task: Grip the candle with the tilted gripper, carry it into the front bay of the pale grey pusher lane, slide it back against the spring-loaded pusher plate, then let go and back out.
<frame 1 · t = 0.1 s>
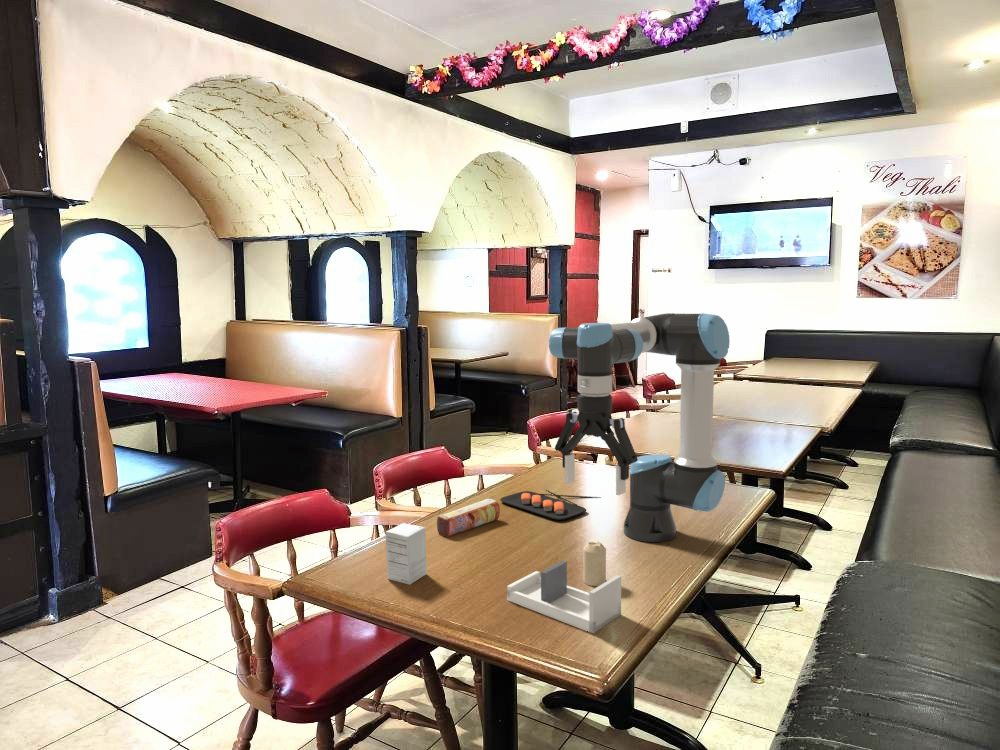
hand: (594, 487, 152), 28 cm above the table, tool pointing down, fingers open, 13 cm apart
pusher lane: (562, 607, 155), on the table
snack package: (469, 528, 208), on the table
pusher plate: (554, 582, 156), point 5 cm above the table, slide at 0.0 cm
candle: (594, 582, 169), on the table
supplement box: (407, 577, 173), on the table
sushi plate: (558, 504, 230), on the table
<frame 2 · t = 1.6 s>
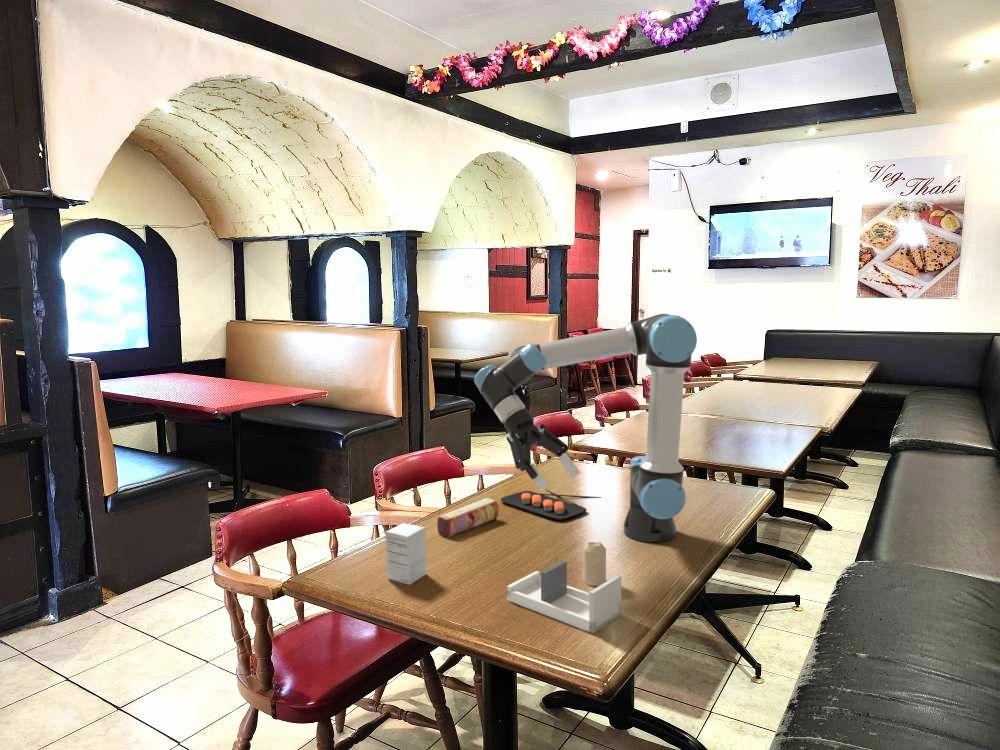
hand: (561, 481, 172), 24 cm above the table, tool tilted 45°, fingers open, 13 cm apart
nothing on the table moved.
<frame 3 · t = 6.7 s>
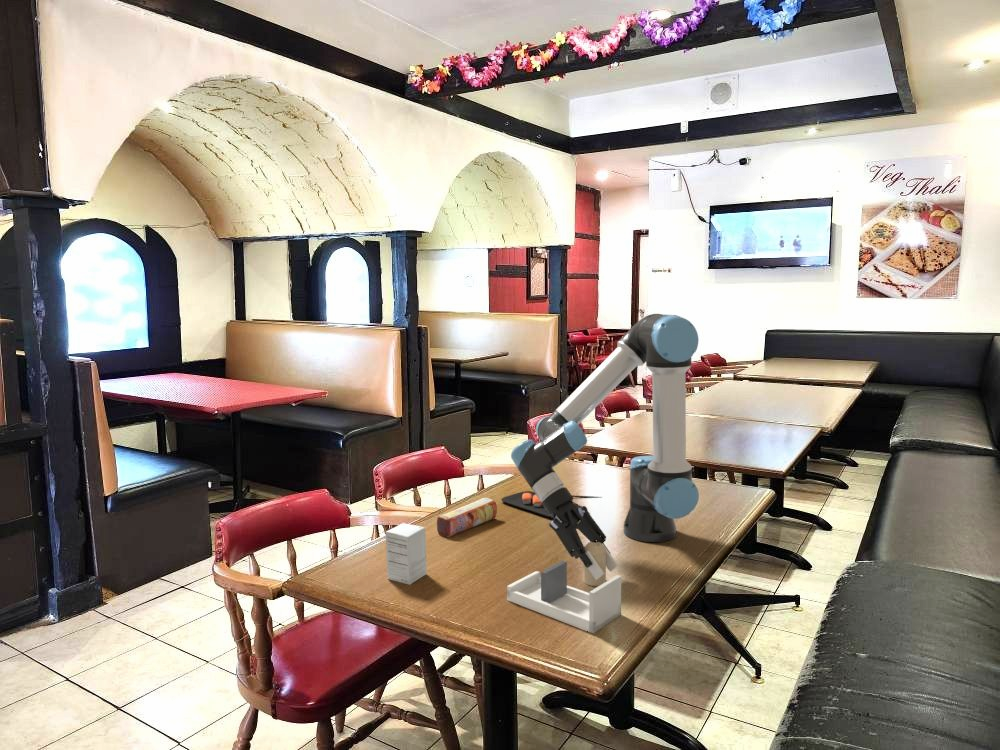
hand: (607, 572, 166), 3 cm above the table, tool tilted 45°, fingers closed on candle, 5 cm apart
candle: (594, 582, 169), on the table, touching gripper
everything else where it was.
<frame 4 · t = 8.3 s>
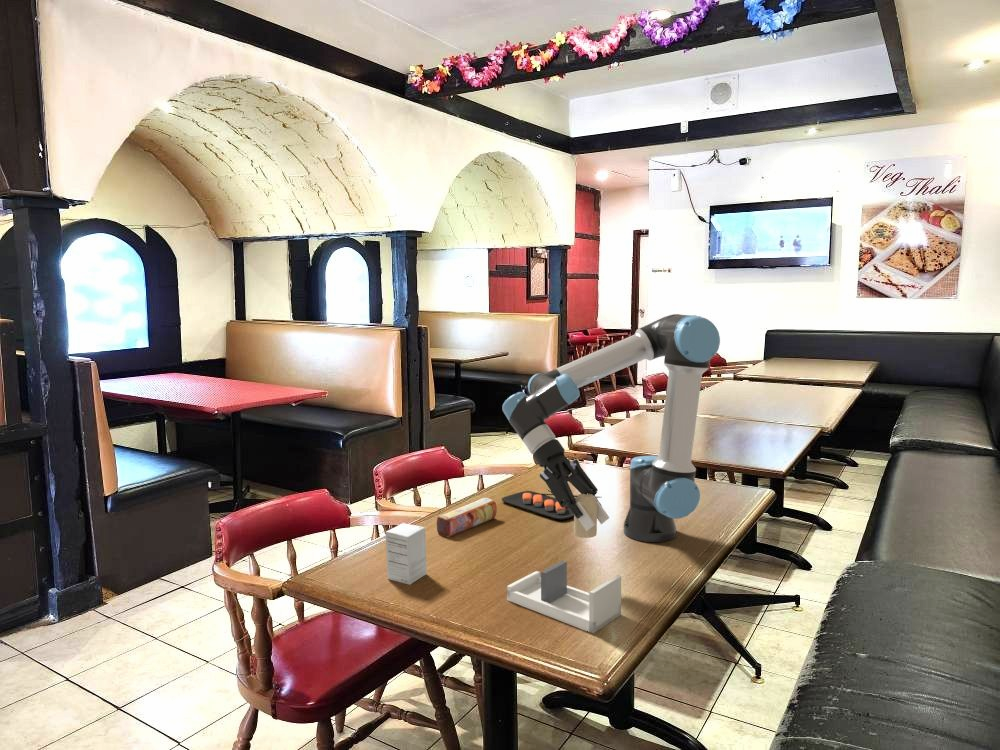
hand: (598, 524, 163), 16 cm above the table, tool tilted 45°, fingers closed on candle, 5 cm apart
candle: (585, 534, 166), point 12 cm above the table, touching gripper
everything else where it was.
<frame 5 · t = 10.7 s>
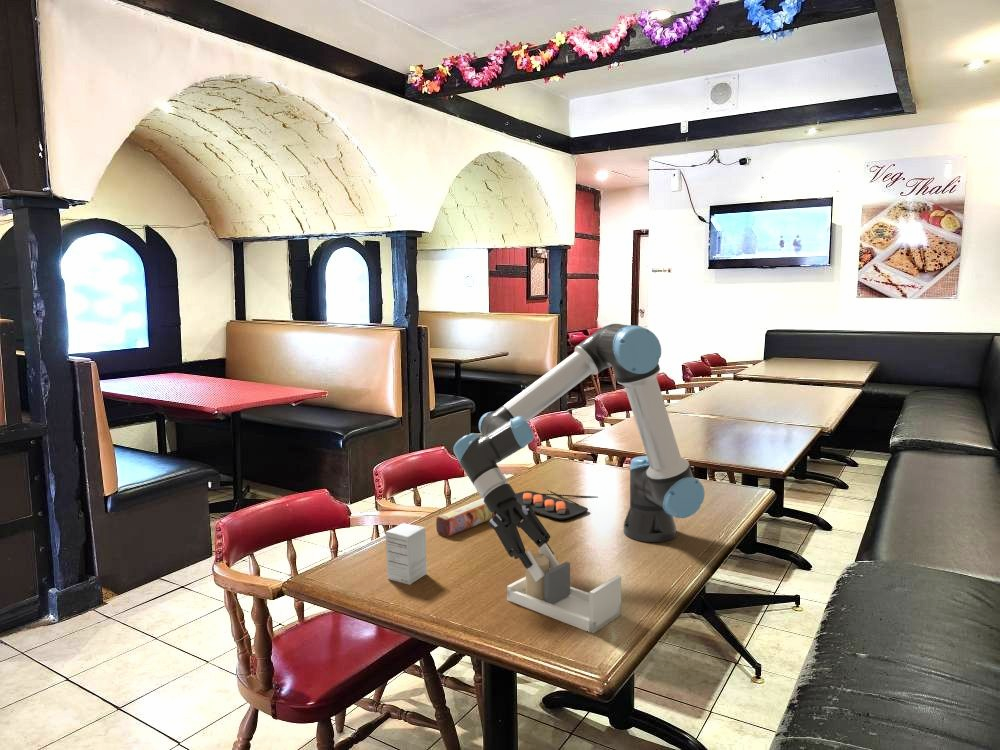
hand: (548, 574, 156), 7 cm above the table, tool tilted 45°, fingers closed on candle, 6 cm apart
pusher plate: (557, 583, 156), point 5 cm above the table, slide at 0.9 cm
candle: (537, 596, 159), point 1 cm above the table, touching gripper, pusher lane
everything else where it was.
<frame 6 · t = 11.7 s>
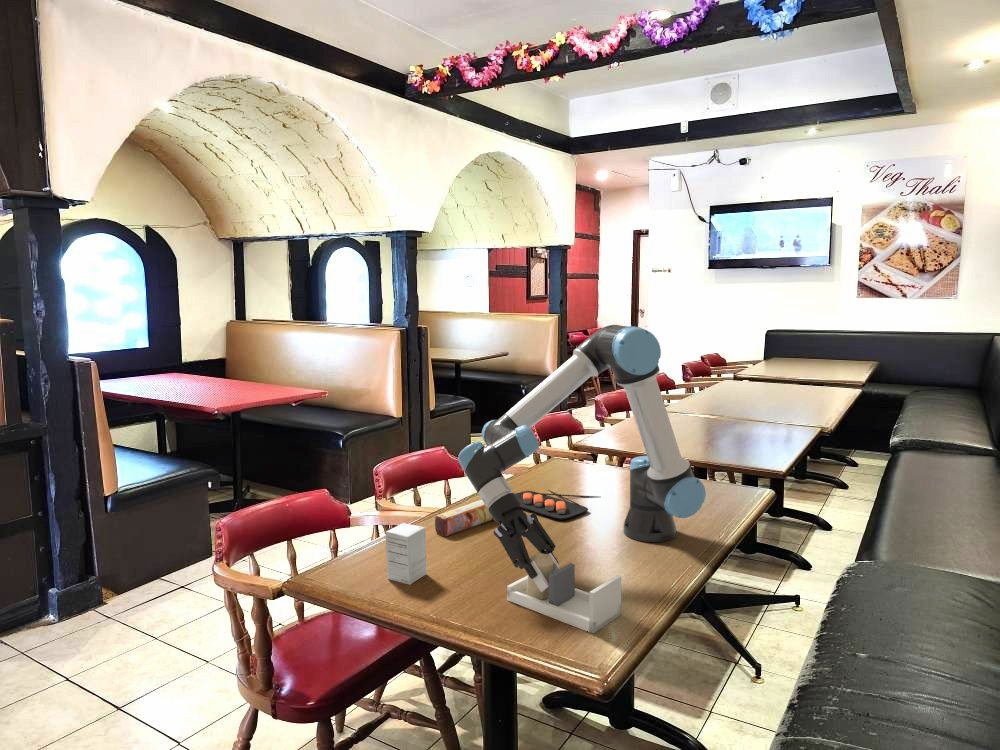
hand: (553, 584, 156), 5 cm above the table, tool tilted 45°, fingers closed on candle, 6 cm apart
pusher plate: (561, 585, 155), point 5 cm above the table, slide at 2.2 cm, touching gripper
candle: (537, 594, 159), point 1 cm above the table, touching gripper, pusher lane
everything else where it was.
when the fingers open (5 cm above the table, at t = 12.4 s): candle stays where it is, resting on pusher lane.
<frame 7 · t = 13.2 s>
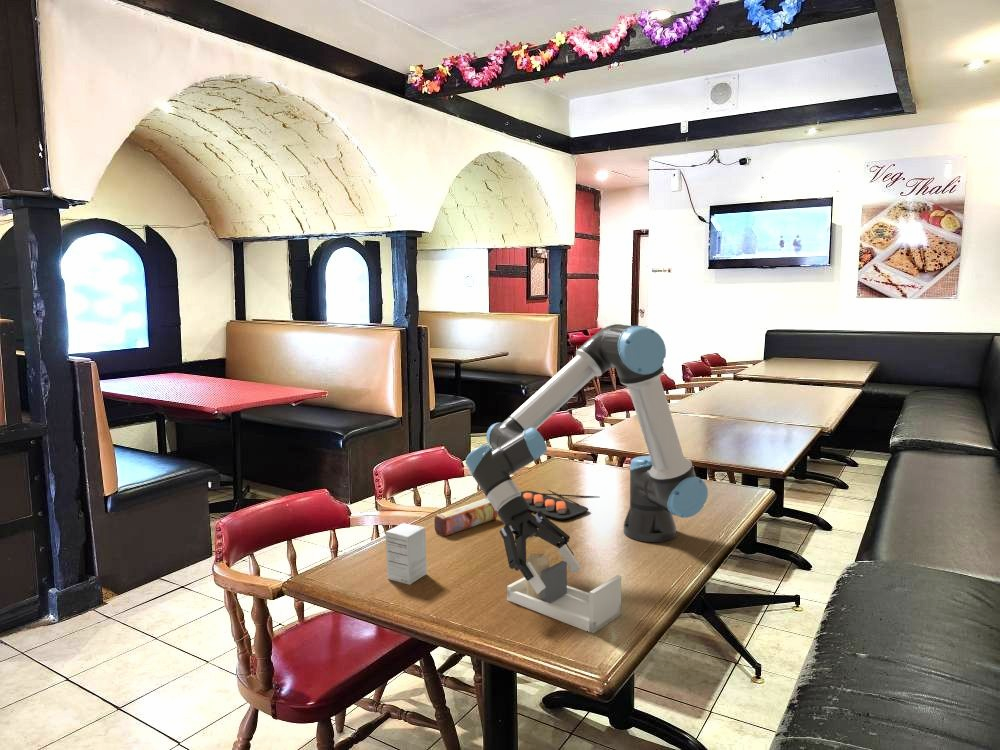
hand: (560, 580, 155), 6 cm above the table, tool tilted 45°, fingers open, 13 cm apart
pusher plate: (554, 582, 156), point 5 cm above the table, slide at 0.0 cm
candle: (539, 596, 159), point 1 cm above the table, touching pusher lane
everything else where it was.
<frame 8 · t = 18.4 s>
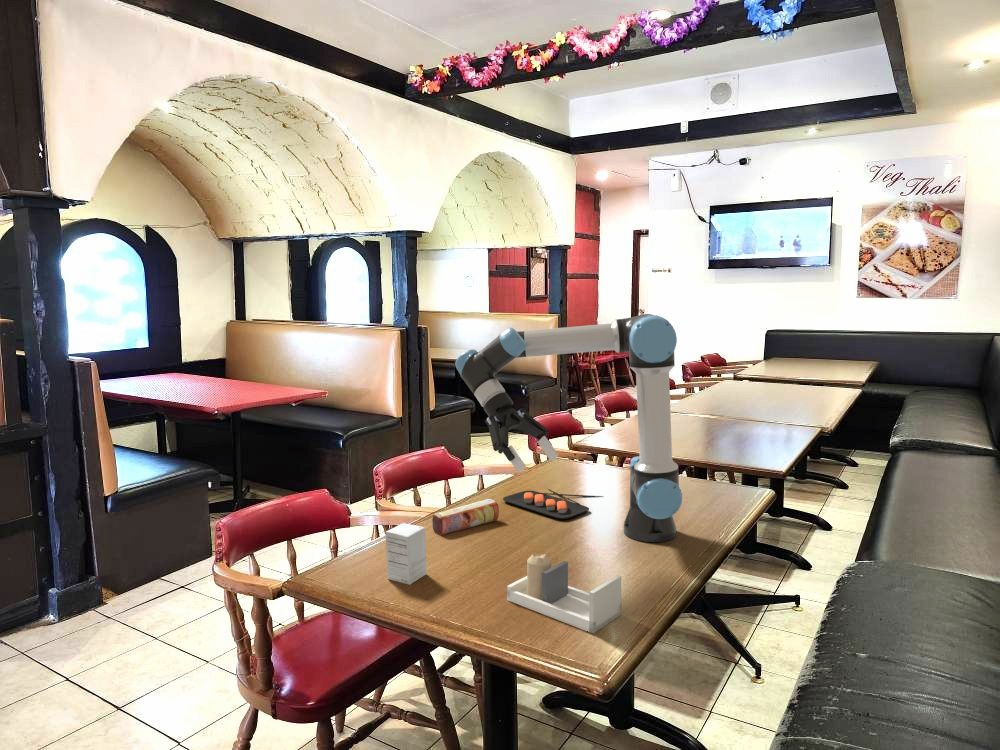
hand: (539, 464, 174), 28 cm above the table, tool tilted 45°, fingers open, 13 cm apart
pusher plate: (555, 583, 156), point 5 cm above the table, slide at 0.3 cm
at the end: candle inside the target area (1.5 cm from its centre), point 0.8 cm above the table; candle tilted 1°; the gripper is holding nothing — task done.
